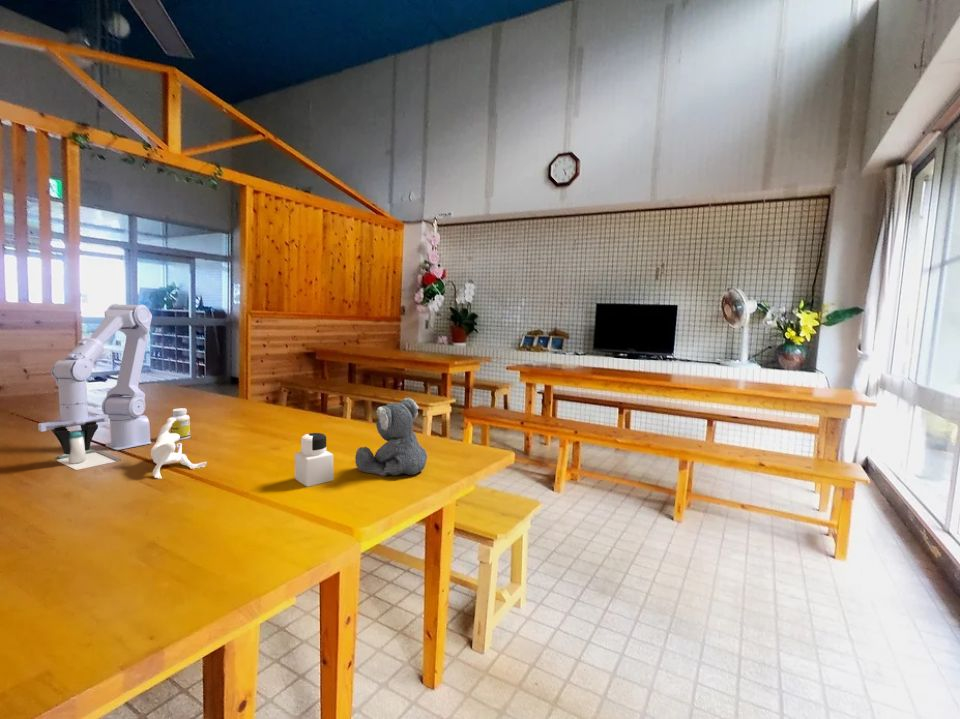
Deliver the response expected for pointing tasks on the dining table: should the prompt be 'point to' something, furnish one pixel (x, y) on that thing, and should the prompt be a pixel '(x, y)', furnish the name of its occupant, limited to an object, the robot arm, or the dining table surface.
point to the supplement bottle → (181, 423)
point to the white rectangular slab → (90, 460)
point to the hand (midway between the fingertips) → (76, 451)
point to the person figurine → (169, 450)
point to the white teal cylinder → (77, 446)
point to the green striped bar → (67, 454)
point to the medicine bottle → (313, 461)
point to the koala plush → (394, 442)
